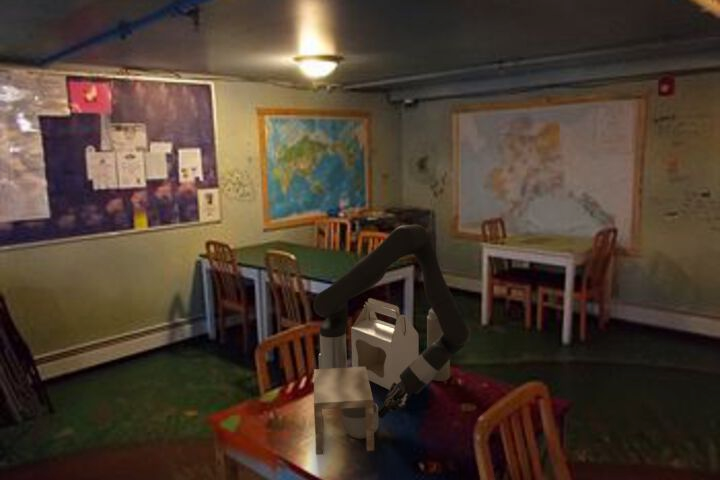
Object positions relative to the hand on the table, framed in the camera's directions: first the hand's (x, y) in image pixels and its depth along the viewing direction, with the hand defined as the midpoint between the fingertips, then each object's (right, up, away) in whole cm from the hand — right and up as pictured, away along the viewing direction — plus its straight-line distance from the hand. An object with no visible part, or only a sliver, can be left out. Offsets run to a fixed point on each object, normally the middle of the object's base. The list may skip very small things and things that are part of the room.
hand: (378, 415), depth 164 cm
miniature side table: (-10, -5, 0) cm, 11 cm away
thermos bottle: (+23, +2, +37) cm, 43 cm away
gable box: (+4, +2, +38) cm, 38 cm away
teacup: (-5, -5, 0) cm, 7 cm away
